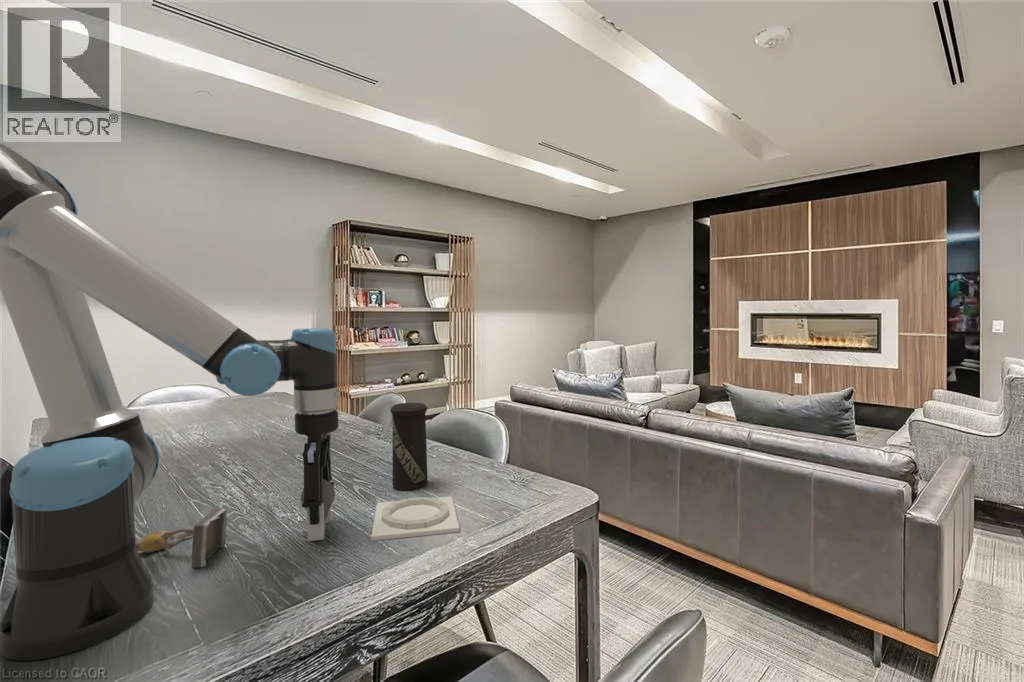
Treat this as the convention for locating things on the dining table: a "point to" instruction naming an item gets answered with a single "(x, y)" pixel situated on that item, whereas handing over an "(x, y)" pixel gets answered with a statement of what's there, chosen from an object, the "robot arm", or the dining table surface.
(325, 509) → the light bulb
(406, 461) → the container
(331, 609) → the dining table surface
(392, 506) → the socket
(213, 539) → the decorative sculpture
